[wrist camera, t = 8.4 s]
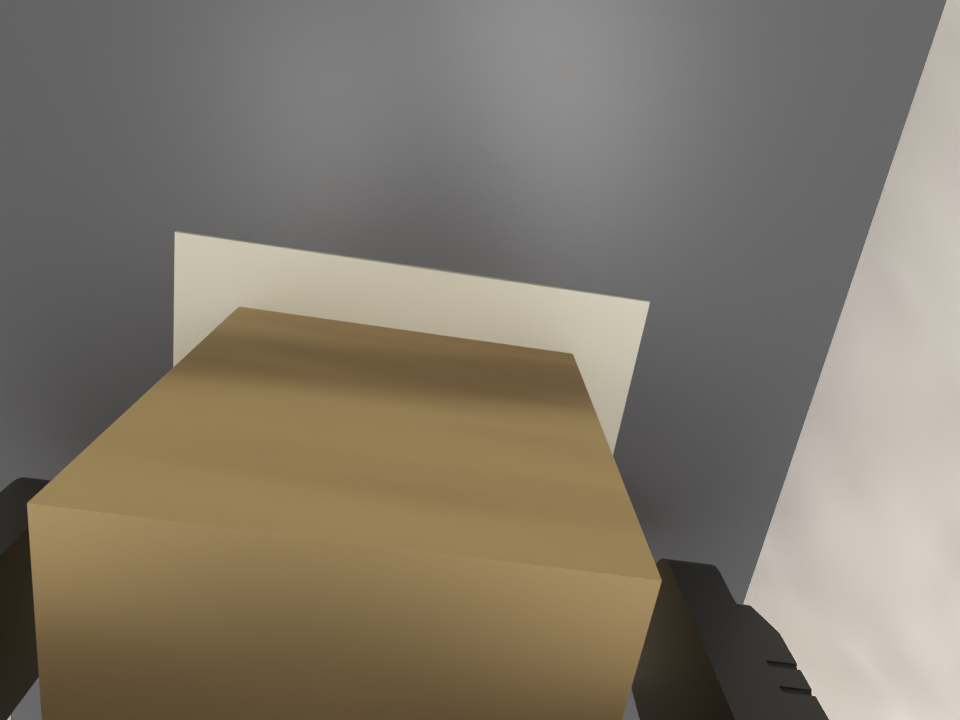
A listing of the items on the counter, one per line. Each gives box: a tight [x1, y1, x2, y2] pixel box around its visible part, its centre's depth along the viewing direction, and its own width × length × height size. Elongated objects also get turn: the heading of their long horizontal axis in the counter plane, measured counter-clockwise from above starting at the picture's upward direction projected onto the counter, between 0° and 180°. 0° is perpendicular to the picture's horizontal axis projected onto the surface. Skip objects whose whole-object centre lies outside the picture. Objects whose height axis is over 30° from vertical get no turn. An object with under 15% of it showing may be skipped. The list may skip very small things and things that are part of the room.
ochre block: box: [27, 307, 662, 720], centre depth 10 cm, size 6×6×6 cm
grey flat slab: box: [0, 0, 946, 720], centre depth 13 cm, size 18×14×1 cm
